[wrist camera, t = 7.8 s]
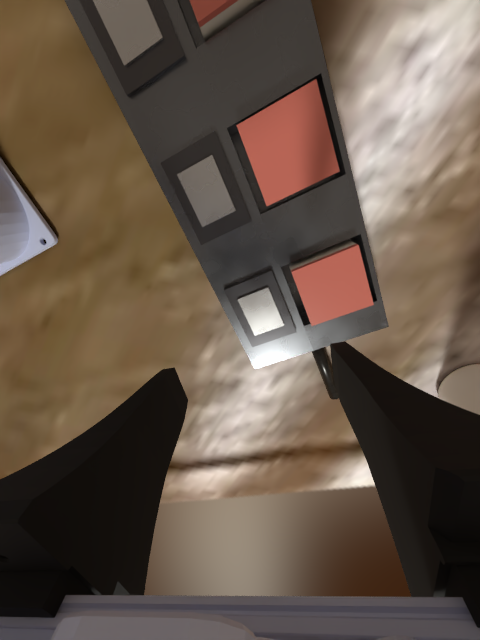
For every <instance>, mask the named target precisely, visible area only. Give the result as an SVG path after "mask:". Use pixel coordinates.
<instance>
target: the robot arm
mask: <svg viewBox="0 0 480 640" xmlns="http://www.w3.org/2000/svg"><path fill="white" fill-rule="evenodd" d="M44 239H45V240H46V243H45V242H44ZM57 242H58V239H57V236H56V235H55V233H54V232H53V231H52V229H51V228H50V226H49V225H48V224H47V222H46V221H45V219H44V218H43V216H42V215H41V214H40V212H39V211H38V209H37V208H36V207H35V205H34V204H33V202H32V201H31V200H30V198H29V197H28V195H27V194H26V193H25V191H24V190H23V188H22V187H21V186H20V184H19V183H18V181H17V180H16V179H15V177H14V176H13V174H12V173H11V172H10V170H9V169H8V167H7V166H6V165H5V163H4V162H3V160H2V159H1V158H0V276H1V275H2V274H4V273H6V272H8V271H10V270H11V269H13V268H15V267H17V266H18V265H20V264H22V263H24V262H25V261H27V260H29V259H31V258H33V257H34V256H36V255H38V254H40V253H41V252H43V251H45V250H47V249H49V248H50V247H52V246H54V245H56V244H57ZM330 347H331V357H332V368H333V378H334V383H335V387H336V390H337V393H338V396H339V399H340V402H341V404H342V407H343V409H344V411H345V413H346V415H347V418H348V420H349V422H350V424H351V426H352V428H353V431H354V433H355V435H356V437H357V439H358V442H359V444H360V446H361V448H362V450H363V453H364V455H365V458H366V460H367V463H368V465H369V468H370V471H371V474H372V477H373V480H374V483H375V485H376V488H377V491H378V494H379V497H380V500H381V503H382V506H383V509H384V511H385V514H386V518H387V521H388V524H389V527H390V530H391V533H392V536H393V539H394V542H395V546H396V549H397V551H398V555H399V558H400V561H401V564H402V568H403V571H404V574H405V577H406V580H407V584H408V587H409V590H410V593H411V596H412V597H334V596H333V597H332V596H327V597H326V596H324V597H323V596H153V595H152V596H150V595H146V596H145V595H144V590H145V583H146V576H147V570H148V563H149V556H150V551H151V545H152V539H153V533H154V528H155V523H156V518H157V513H158V508H159V503H160V499H161V494H162V490H163V486H164V482H165V477H166V474H167V471H168V467H169V464H170V461H171V458H172V455H173V452H174V449H175V447H176V444H177V441H178V438H179V435H180V432H181V429H182V426H183V422H184V419H185V414H186V409H187V403H188V399H187V397H186V394H185V392H184V389H183V387H182V385H181V382H180V380H179V377H178V375H177V373H176V370H175V368H169V369H163V370H161V371H160V372H159V373H157V374H156V375H155V376H154V377H152V378H151V379H150V380H149V381H148V382H147V383H146V384H144V385H143V386H142V387H141V388H140V389H139V390H138V391H136V392H135V393H134V394H133V395H132V396H131V397H130V398H128V399H127V400H126V401H125V402H124V403H122V404H121V405H120V406H119V407H117V408H116V409H115V410H114V411H113V412H111V413H110V414H109V415H108V416H106V417H105V418H104V419H102V420H101V421H100V422H98V423H97V424H96V425H94V426H93V427H91V428H90V429H88V430H87V431H86V432H84V433H83V434H81V435H80V436H78V437H76V438H75V439H73V440H72V441H70V442H68V443H67V444H65V445H64V446H62V447H60V448H59V449H57V450H56V451H54V452H52V453H50V454H49V455H47V456H45V457H43V458H42V459H40V460H38V461H36V462H34V463H32V464H30V465H29V466H27V467H25V468H23V469H21V470H19V471H17V472H15V473H13V474H11V475H9V476H7V477H5V478H2V479H0V640H480V415H478V414H476V413H473V412H471V411H468V410H465V409H463V408H460V407H458V406H455V405H453V404H451V403H448V402H446V401H443V400H441V399H439V398H437V397H434V396H432V395H430V394H428V393H426V392H424V391H422V390H420V389H418V388H416V387H414V386H412V385H410V384H408V383H406V382H404V381H403V380H401V379H399V378H397V377H396V376H394V375H392V374H391V373H389V372H387V371H386V370H384V369H383V368H381V367H380V366H378V365H377V364H375V363H374V362H372V361H371V360H369V359H368V358H367V357H365V356H364V355H363V354H361V353H360V352H358V351H357V350H356V349H355V348H353V347H352V346H351V345H349V344H348V343H346V342H345V341H344V342H338V343H331V344H330Z"/></svg>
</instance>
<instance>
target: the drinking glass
mask: <svg viewBox="0 0 480 640" xmlns="http://www.w3.org/2000/svg"><path fill="white" fill-rule="evenodd" d="M438 397H439V399H441V400H443V401H446V402H448V403H451V404H453V405H455V406H458V407H460V408H463V409H465V410H468V411H471V412H473V413H476V414H478V415H480V364H473V365H468V366H464V367H461V368H459V369H457V370H455V371H453V372H452V373H450V374H449V375H448V376H447V377H446V378H445V379H444V380H443V381H442V383H441V384H440V387H439V390H438Z"/></svg>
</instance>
